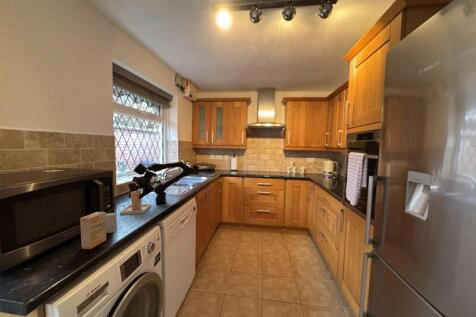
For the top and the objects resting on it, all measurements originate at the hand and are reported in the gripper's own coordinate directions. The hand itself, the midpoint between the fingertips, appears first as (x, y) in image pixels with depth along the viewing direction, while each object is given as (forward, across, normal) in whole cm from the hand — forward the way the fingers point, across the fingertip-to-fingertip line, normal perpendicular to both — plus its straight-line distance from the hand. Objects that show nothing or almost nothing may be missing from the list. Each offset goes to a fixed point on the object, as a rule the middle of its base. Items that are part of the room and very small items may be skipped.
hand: (134, 198), depth 130 cm
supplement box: (+34, +21, -22) cm, 46 cm away
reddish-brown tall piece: (+5, 0, +7) cm, 8 cm away
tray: (+5, 0, +7) cm, 9 cm away
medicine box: (+26, +14, -14) cm, 33 cm away
